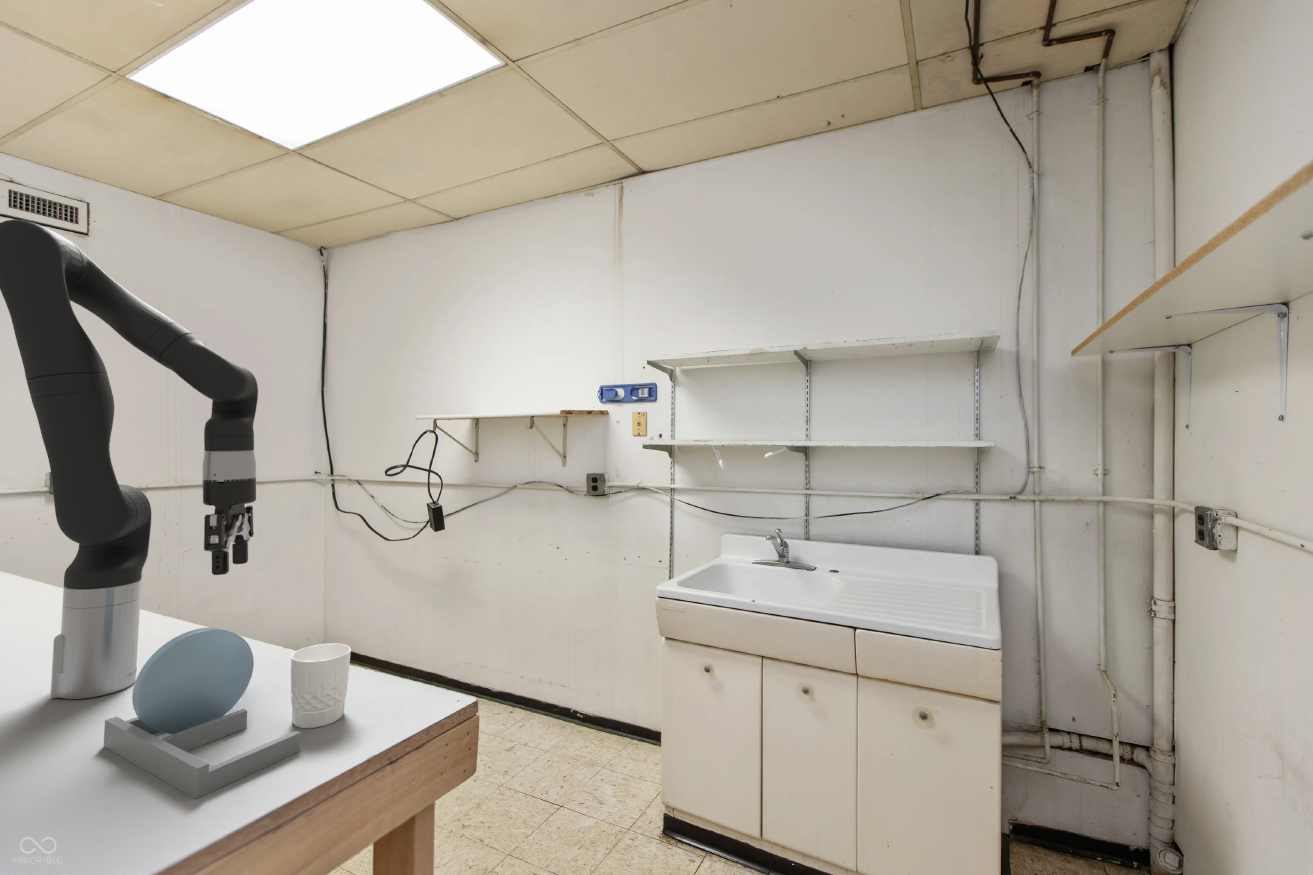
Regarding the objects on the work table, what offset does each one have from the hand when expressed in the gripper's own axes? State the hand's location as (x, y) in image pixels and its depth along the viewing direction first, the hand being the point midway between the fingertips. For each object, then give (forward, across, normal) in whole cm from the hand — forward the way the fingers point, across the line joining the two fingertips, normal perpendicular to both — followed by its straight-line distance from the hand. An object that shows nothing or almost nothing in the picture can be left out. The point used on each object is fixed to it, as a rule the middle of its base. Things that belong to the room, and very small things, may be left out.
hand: (230, 568), depth 100 cm
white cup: (+20, +20, +18) cm, 34 cm away
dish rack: (+19, +25, +7) cm, 32 cm away
